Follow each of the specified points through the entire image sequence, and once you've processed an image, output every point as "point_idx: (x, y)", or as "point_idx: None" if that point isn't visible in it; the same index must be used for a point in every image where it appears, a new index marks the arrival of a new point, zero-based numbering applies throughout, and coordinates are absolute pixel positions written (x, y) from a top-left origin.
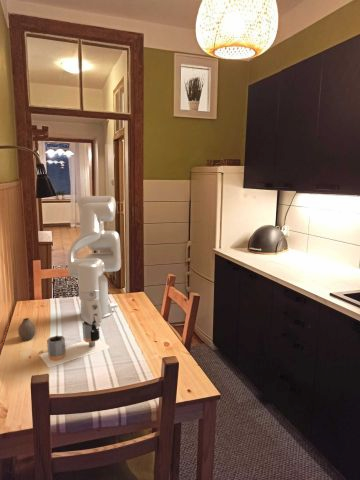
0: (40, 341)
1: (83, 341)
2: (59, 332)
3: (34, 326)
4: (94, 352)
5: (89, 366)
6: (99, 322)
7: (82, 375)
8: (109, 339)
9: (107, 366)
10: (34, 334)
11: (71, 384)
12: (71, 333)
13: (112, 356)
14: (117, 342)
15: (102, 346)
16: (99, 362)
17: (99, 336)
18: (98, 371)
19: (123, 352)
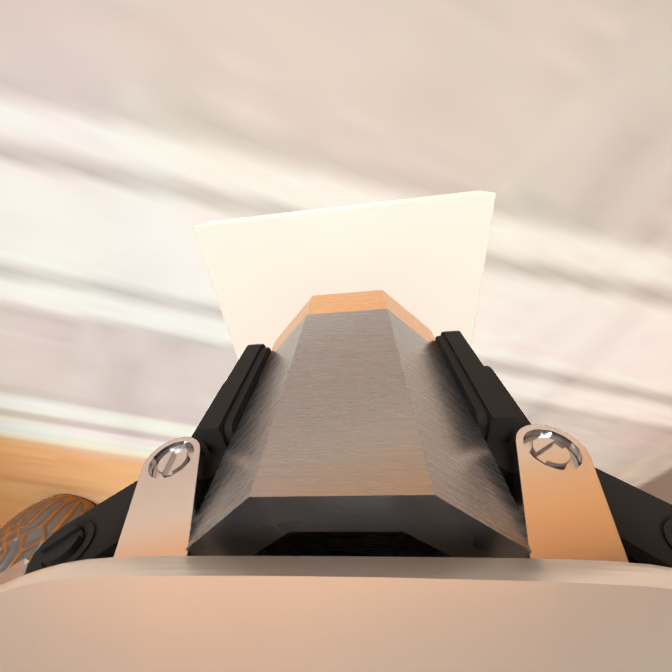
0: (125, 482)
1: (240, 353)
2: (10, 404)
3: (16, 559)
4: (469, 342)
5: (551, 386)
6: (658, 580)
7: (599, 432)
8: (228, 92)
9: (667, 301)
10: (66, 513)
11: (617, 476)
12: (30, 355)
13: (580, 211)
14: (349, 18)
15: (418, 254)
16: (565, 327)
17: (385, 299)
18: (654, 365)
19: (621, 59)
